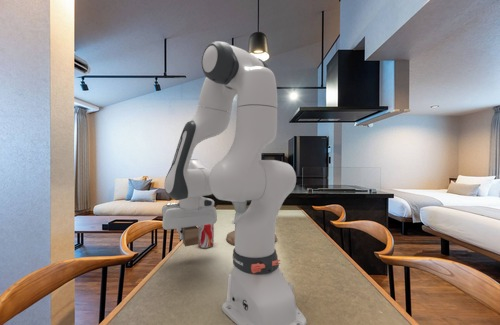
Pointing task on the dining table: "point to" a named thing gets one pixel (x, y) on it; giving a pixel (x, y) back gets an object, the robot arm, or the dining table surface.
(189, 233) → the walnut block
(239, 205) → the coffee maker
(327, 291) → the dining table surface
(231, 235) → the trivet
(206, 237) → the soda can
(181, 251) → the dining table surface
